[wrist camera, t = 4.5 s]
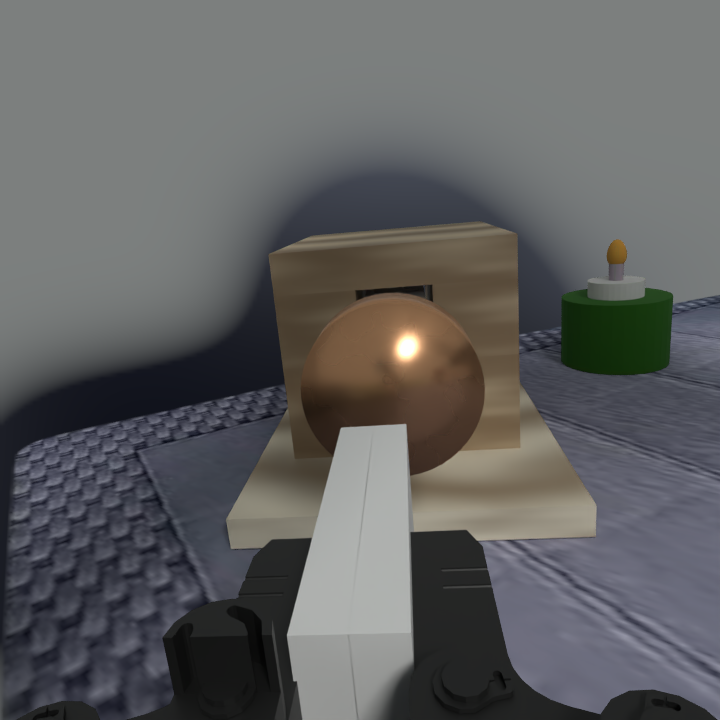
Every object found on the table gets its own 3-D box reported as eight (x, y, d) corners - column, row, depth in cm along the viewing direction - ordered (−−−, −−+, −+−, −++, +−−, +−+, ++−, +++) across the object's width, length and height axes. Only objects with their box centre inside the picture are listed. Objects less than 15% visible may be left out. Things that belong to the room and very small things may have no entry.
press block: (306, 395, 46) (287, 237, 43) (509, 383, 45) (506, 218, 42) (230, 549, 26) (184, 272, 23) (595, 536, 25) (602, 239, 21)
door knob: (351, 359, 35) (341, 259, 33) (451, 353, 34) (446, 250, 33) (310, 480, 20) (290, 309, 18) (487, 473, 19) (481, 295, 18)
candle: (566, 346, 54) (567, 237, 51) (667, 349, 50) (674, 232, 48) (555, 372, 47) (555, 247, 44) (671, 377, 43) (679, 242, 41)
